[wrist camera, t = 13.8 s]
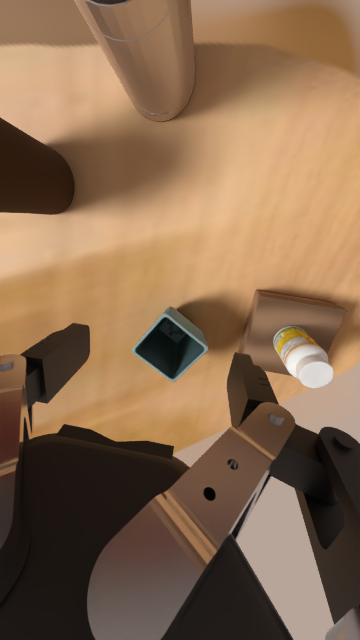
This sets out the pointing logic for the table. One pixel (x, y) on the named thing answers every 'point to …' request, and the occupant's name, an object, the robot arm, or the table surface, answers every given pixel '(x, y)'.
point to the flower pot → (171, 345)
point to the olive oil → (32, 175)
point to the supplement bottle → (303, 357)
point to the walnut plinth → (286, 325)
